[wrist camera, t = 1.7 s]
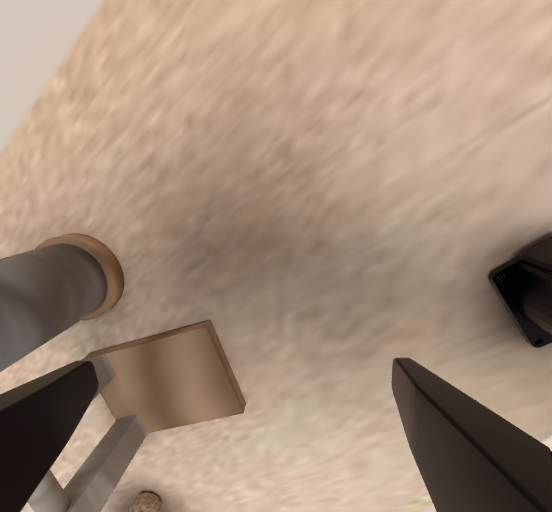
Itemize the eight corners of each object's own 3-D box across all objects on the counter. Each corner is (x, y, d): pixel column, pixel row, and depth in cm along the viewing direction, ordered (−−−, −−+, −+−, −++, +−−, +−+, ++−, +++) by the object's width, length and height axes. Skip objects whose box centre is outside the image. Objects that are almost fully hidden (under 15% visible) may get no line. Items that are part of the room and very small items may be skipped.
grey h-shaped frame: (209, 320, 21) (135, 435, 12) (245, 403, 23) (206, 561, 14) (90, 352, 23) (-57, 475, 14) (132, 427, 25) (28, 581, 16)
